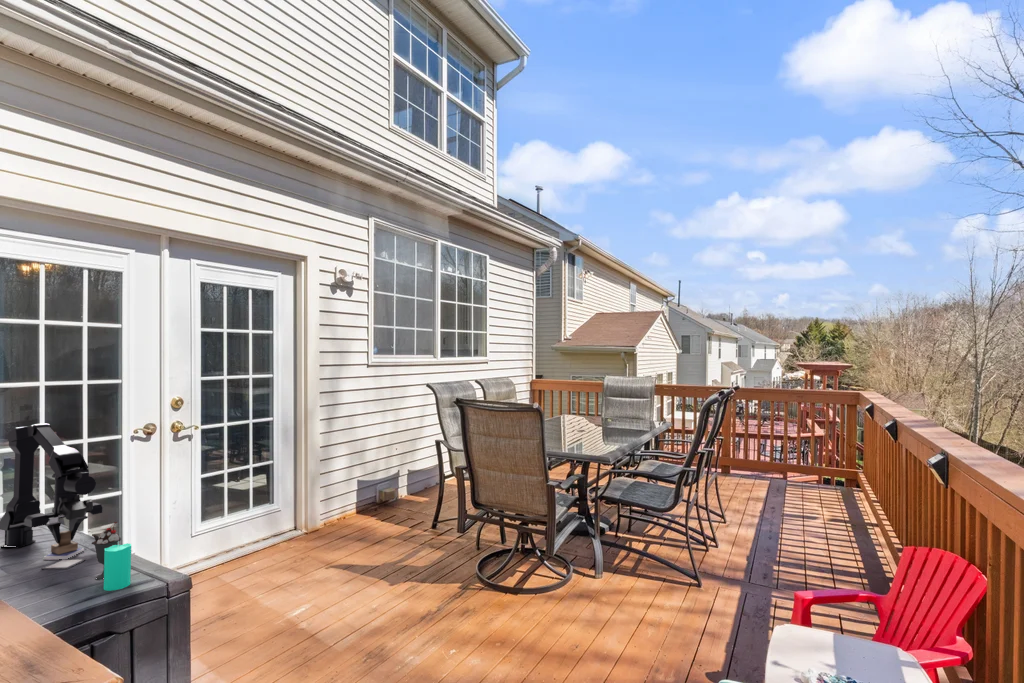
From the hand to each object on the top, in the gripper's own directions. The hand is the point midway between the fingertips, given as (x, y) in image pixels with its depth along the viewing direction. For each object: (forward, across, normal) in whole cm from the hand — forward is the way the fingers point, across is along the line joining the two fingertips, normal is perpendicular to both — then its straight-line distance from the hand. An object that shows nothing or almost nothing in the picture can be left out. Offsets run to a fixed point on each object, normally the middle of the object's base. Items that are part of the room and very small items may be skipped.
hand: (64, 541), depth 169 cm
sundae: (+4, -3, -32) cm, 32 cm away
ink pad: (+4, 0, 0) cm, 4 cm away
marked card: (+4, -4, -10) cm, 11 cm away
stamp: (+3, 0, 0) cm, 3 cm away
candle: (+4, -5, -42) cm, 42 cm away
